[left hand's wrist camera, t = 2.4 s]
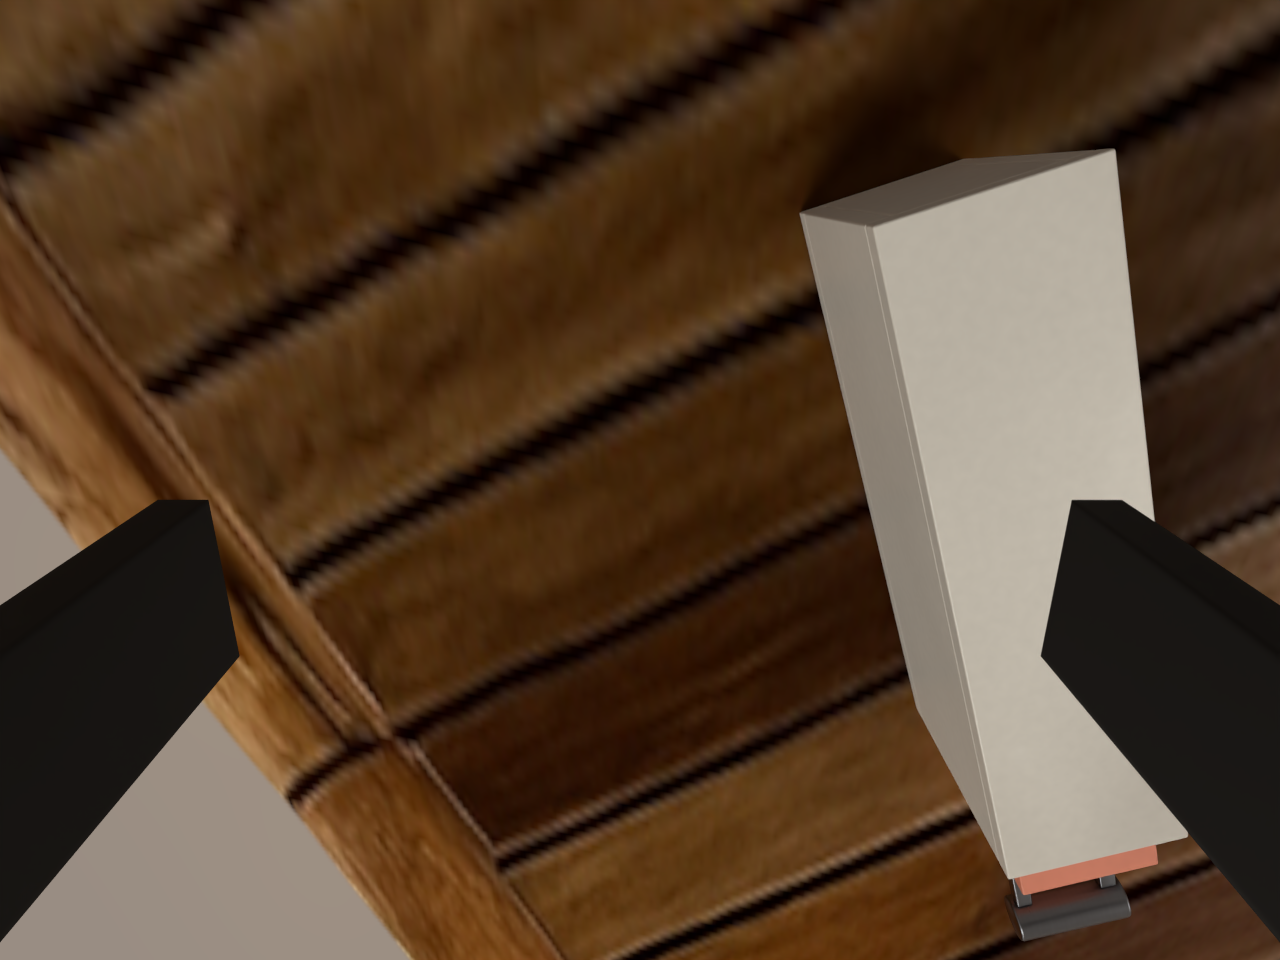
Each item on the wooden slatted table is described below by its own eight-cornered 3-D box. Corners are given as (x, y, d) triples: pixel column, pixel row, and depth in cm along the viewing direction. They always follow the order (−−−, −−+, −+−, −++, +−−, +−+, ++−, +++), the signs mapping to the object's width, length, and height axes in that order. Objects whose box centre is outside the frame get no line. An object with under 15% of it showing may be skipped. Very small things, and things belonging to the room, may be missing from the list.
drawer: (1067, 819, 36) (1172, 973, 29) (965, 843, 37) (1044, 1001, 30) (971, 251, 28) (1086, 275, 21) (840, 292, 28) (909, 329, 21)
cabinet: (1049, 673, 35) (1189, 837, 26) (916, 708, 35) (1008, 880, 27) (964, 158, 28) (1116, 147, 19) (798, 212, 28) (872, 226, 20)
